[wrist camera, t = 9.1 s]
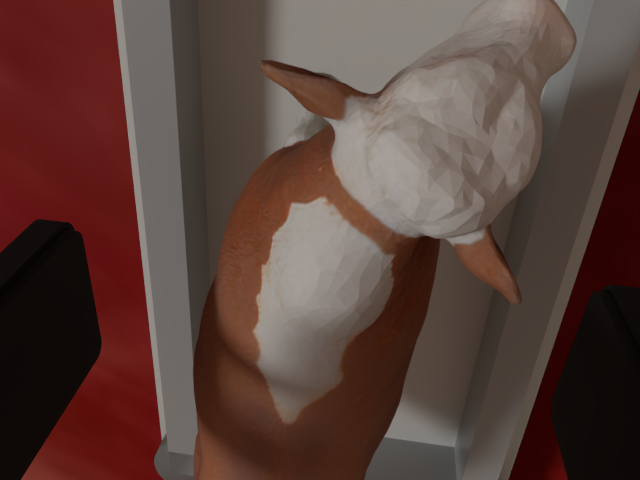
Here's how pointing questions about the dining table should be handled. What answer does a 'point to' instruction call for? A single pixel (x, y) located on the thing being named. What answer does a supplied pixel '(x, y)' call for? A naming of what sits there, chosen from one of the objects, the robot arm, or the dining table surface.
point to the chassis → (451, 275)
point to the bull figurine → (364, 244)
